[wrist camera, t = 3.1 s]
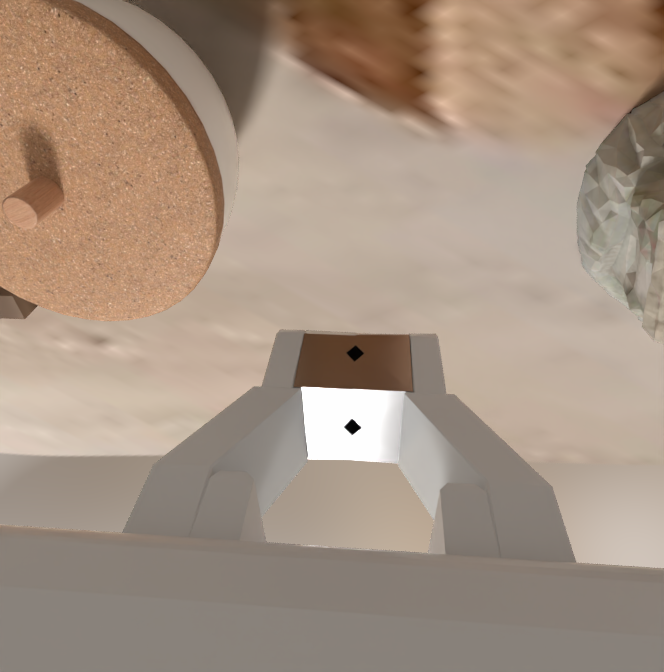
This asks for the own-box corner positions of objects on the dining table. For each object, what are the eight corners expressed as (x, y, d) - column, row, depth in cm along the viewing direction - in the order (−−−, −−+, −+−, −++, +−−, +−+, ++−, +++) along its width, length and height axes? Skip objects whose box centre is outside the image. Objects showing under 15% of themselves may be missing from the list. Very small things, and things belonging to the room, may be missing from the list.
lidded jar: (-35, 34, 20) (-278, 90, 13) (185, -90, 17) (27, -108, 10) (121, 253, 26) (16, 376, 19) (304, 194, 23) (262, 313, 16)
